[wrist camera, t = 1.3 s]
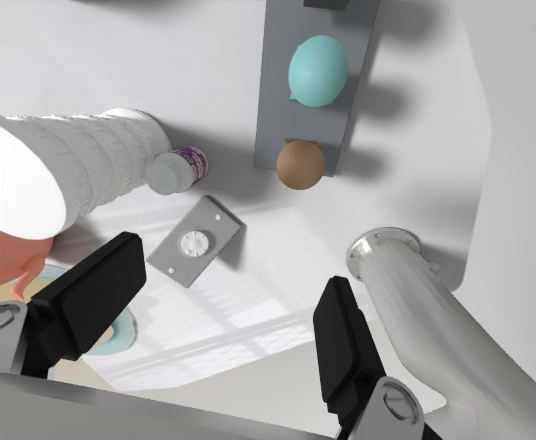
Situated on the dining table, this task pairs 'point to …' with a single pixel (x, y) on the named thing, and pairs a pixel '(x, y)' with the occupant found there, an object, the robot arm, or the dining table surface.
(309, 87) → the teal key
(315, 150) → the walnut key
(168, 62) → the dining table surface
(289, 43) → the panel
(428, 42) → the dining table surface
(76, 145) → the decorative container
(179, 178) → the pill bottle
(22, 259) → the teapot
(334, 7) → the dark grey round-topped block
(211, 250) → the light switch
